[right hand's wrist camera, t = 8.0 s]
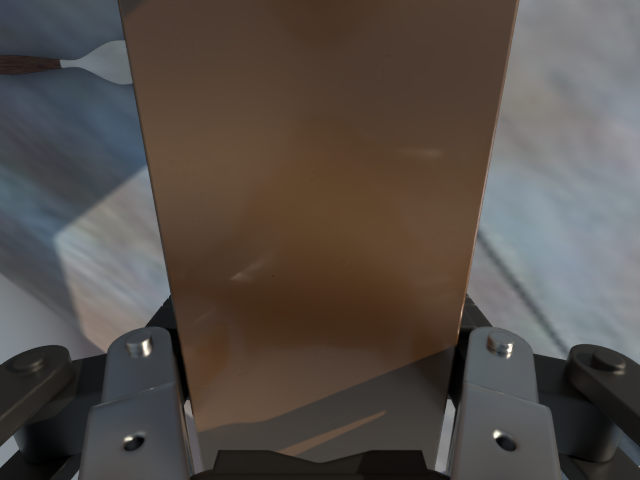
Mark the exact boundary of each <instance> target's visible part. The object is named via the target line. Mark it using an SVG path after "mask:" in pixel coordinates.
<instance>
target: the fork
mask: <svg viewBox="0 0 640 480" xmlns="http://www.w3.org/2000/svg"><path fill="white" fill-rule="evenodd" d="M67 67H80V68H83V69H86V70H88V71H90V72H92V73H94V74H96V75H98V76H100V77H102V78H104V79H106V80H108V81H110V82H113V83H116V84H122V85H126V84H132V83H133V82H132V77H131V71H130V66H129V60H128V55H127V49H126V44H125V40H116V41H110V42H107V43H105V44H103V45H101V46H100V47H98V48H96V49H95V50H93V51H92V52H90V53H89V54H87V55H86V56H84V57H82V58H80V59H77V60H59V59H49V58H40V57H30V56H17V55H0V74H5V75H15V74H26V73H34V72H40V71H47V70H53V69H60V68H67Z"/></svg>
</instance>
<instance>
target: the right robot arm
mask: <svg viewBox="0 0 640 480" xmlns="http://www.w3.org/2000/svg"><path fill="white" fill-rule="evenodd" d="M447 399H451V400H452V402H453V405H454V407H455V409H456V410H455V415H454V421H453V427H452V434H451V440H450V446H449V453H448V459H447V466H446V472H445V474H442V473H440V472H437V471H434V470H431V469H427V466H426V463H425V459H424V456H423V453H422V450H370V451H366V452H362V453H358V454H354V455H351V456H347V457H343V458H339V459H335V460H331V461H328V462H323V463H317V462H312V461H309V460H305V459H301V458H297V457H293V456H289V455H286V454H282V453H278V452H274V451H270V450H218V453H217V456H216V459H215V463H214V466H213V469H209V470H206V471H203V472H200V473H198V474H195V472H194V466H193V459H192V453H191V446H190V440H189V434H188V427H187V421H186V415H185V410H184V404H185V402H186V400H190V398H189V392H188V387H187V381H186V376H185V370H184V365H183V359H182V354H181V348H180V343H179V337H178V332H177V326H176V320H175V315H174V309H173V304H172V298H171V295H170V296H169V298H168V299H167V300H166V301H165V302H164V304H163V306H161V307H160V309H159V310H158V311H157V312H156V314H155V315H154V316H153V317H152V319H151V320H150V321H149V322H148V324H147V325H146V326H145V327H144V328H139V329H136V330H133V331H130V332H128V333H126V334H124V335H122V336H120V337H119V338H117V339H116V340H115V341H114V342H113V343H112V344H111V345H110V346H109V348H108V351H107V353H106V354H103V355H99V356H94V357H89V358H84V359H79V360H74V361H72V360H71V357H70V354H69V351H68V350H67V349H66V348H65V347H63V346H58V345H48V346H41V347H37V348H34V349H31V350H28V351H25V352H22V353H20V354H18V355H16V356H14V357H12V358H10V359H9V360H7V361H6V362H4V363H3V364H1V365H0V446H1V445H3V444H4V443H5V442H6V441H7V440H8V439H9V438H10V437H11V436H12V435H13V436H14V438H15V440H16V442H17V445H18V447H19V450H18V451H17V452H16V453H15V454H14V455H13V456H12V457H11V458H10V459H9V460H8V461H7V462H6V463H5V464H4V465H3V466H2V467H1V468H0V480H71V479H72V478H73V476H74V475H75V474H76V473H77V471H78V470H79V476H78V480H562V476H561V470H562V471H563V473H564V474H565V475H566V476H567V478H568V479H569V480H640V468H639V467H638V466H637V465H636V464H635V463H634V462H633V461H632V460H631V459H630V458H629V457H628V456H627V455H626V454H625V453H624V452H623V451H622V450H621V449H620V448H619V447H618V444H619V442H620V439H621V437H622V435H623V433H626V434H627V435H628V436H629V437H630V438H631V439H632V440H633V441H634V442H635V443H636V444H637V445H638V446H640V365H639V364H637V363H636V362H635V361H633V360H631V359H630V358H628V357H626V356H625V355H623V354H621V353H618V352H616V351H614V350H611V349H608V348H605V347H601V346H597V345H591V344H580V345H576V346H574V347H572V348H571V350H570V352H569V355H568V358H567V360H562V359H557V358H552V357H547V356H542V355H538V354H533V351H532V348H531V346H530V345H529V344H528V343H527V342H526V341H525V340H524V339H523V338H521V337H520V336H518V335H516V334H514V333H512V332H510V331H507V330H504V329H501V328H496V327H493V326H492V325H491V324H490V323H489V321H488V320H487V319H486V317H485V316H484V315H483V314H482V312H481V311H480V310H479V309H478V307H477V306H475V303H474V302H473V301H472V300H471V298H469V296H468V294H467V293H466V298H465V304H464V309H463V315H462V320H461V326H460V331H459V337H458V342H457V348H456V353H455V359H454V365H453V370H452V376H451V381H450V387H449V392H448V398H447Z"/></svg>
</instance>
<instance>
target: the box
mask: <svg viewBox="0 0 640 480" xmlns="http://www.w3.org/2000/svg"><path fill="white" fill-rule="evenodd" d="M118 5H119V11H120V16H121V22H122V27H123V33H124V38H125V44H126V49H127V55H128V60H129V66H130V71H131V77H132V82H133V88H134V94H135V99H136V105H137V110H138V116H139V121H140V127H141V132H142V138H143V143H144V149H145V154H146V160H147V166H148V171H149V177H150V182H151V188H152V193H153V199H154V204H155V210H156V215H157V221H158V226H159V232H160V237H161V243H162V249H163V254H164V260H165V265H166V271H167V276H168V282H169V287H170V293H171V298H172V304H173V309H174V315H175V320H176V326H177V332H178V337H179V343H180V348H181V354H182V359H183V365H184V370H185V376H186V381H187V387H188V392H189V398H190V403H191V409H192V415H193V420H194V425H195V431H196V437H197V442H198V448H199V453H200V459H201V464H202V470H203V471H206V470H209V469H213V466H214V463H215V459H216V456H217V453H218V450H270V451H274V452H278V453H282V454H286V455H289V456H293V457H297V458H301V459H305V460H309V461H312V462H317V463H323V462H328V461H331V460H335V459H339V458H343V457H347V456H351V455H354V454H358V453H362V452H366V451H370V450H422V453H423V456H424V459H425V463H426V466H427V469H431V470H435V464H436V459H437V453H438V448H439V442H440V437H441V431H442V425H443V420H444V414H445V409H446V403H447V398H448V392H449V387H450V381H451V376H452V370H453V365H454V359H455V353H456V348H457V342H458V337H459V331H460V326H461V320H462V315H463V309H464V304H465V298H466V293H467V287H468V282H469V276H470V270H471V265H472V259H473V254H474V248H475V243H476V237H477V232H478V226H479V221H480V215H481V210H482V204H483V198H484V193H485V187H486V182H487V176H488V171H489V165H490V160H491V154H492V149H493V143H494V138H495V132H496V126H497V121H498V115H499V110H500V104H501V99H502V93H503V88H504V82H505V77H506V71H507V66H508V60H509V55H510V49H511V43H512V38H513V32H514V27H515V21H516V16H517V10H518V5H519V0H118Z"/></svg>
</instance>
